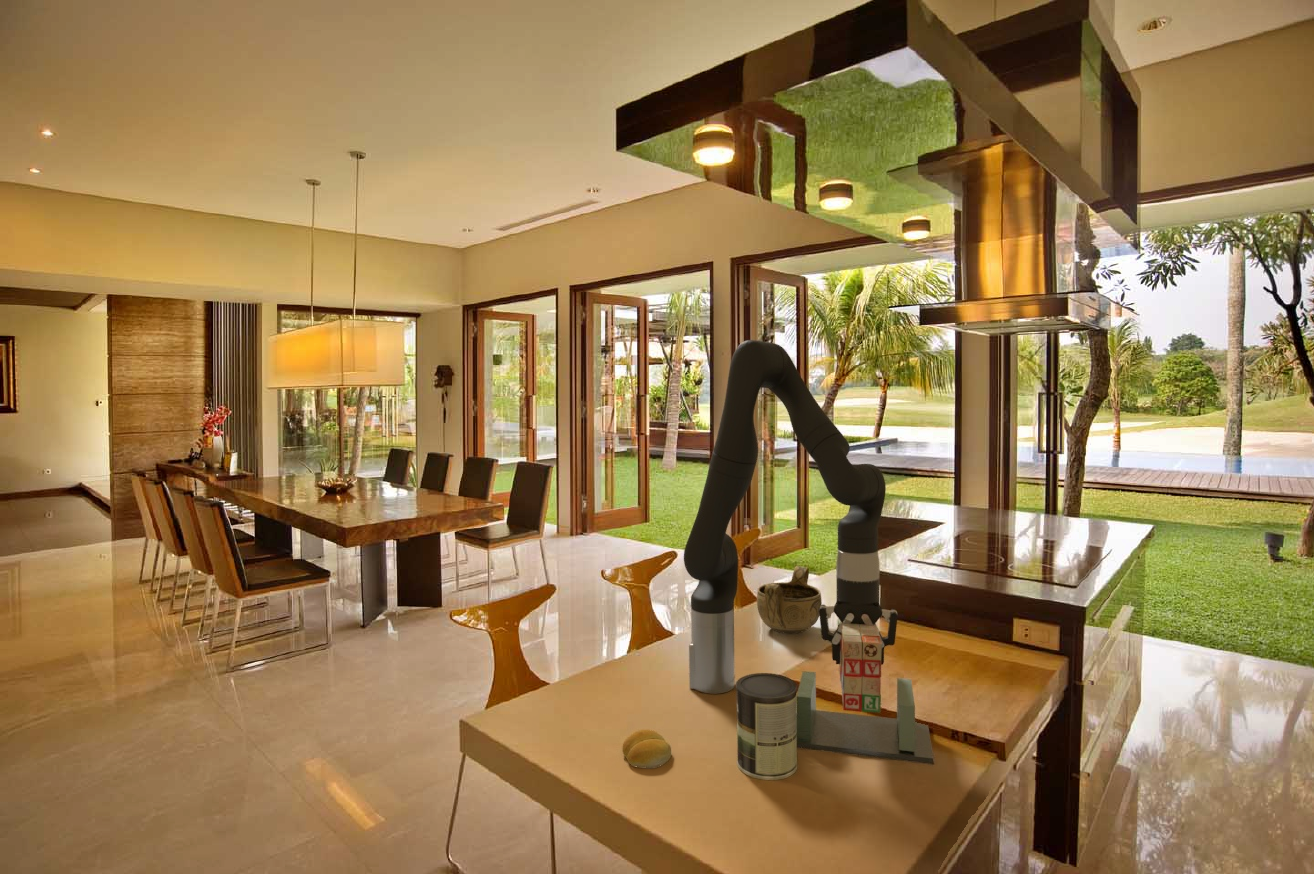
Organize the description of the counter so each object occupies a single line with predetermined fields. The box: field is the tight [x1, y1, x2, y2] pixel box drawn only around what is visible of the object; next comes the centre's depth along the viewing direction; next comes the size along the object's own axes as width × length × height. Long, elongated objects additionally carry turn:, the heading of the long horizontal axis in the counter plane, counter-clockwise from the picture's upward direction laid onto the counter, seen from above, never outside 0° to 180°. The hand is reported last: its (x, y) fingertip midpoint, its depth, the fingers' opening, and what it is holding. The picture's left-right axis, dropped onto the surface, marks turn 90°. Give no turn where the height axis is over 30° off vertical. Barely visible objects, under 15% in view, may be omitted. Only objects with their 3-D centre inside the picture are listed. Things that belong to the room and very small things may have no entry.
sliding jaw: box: [896, 677, 916, 752], centre depth 130 cm, size 2×12×8 cm, turn 164°
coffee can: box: [735, 672, 798, 781], centre depth 123 cm, size 10×10×14 cm
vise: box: [796, 670, 935, 765], centre depth 133 cm, size 24×14×9 cm, turn 74°
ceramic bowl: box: [756, 565, 823, 635], centre depth 191 cm, size 22×17×15 cm
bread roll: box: [621, 729, 672, 769], centre depth 127 cm, size 8×9×4 cm
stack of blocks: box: [837, 618, 882, 714], centre depth 132 cm, size 21×6×12 cm, turn 168°
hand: (858, 664), depth 132 cm, fingers closed on stack of blocks, 6 cm apart
